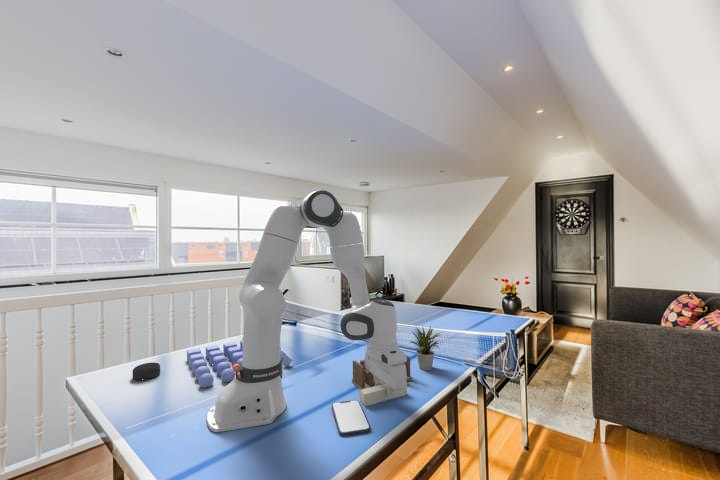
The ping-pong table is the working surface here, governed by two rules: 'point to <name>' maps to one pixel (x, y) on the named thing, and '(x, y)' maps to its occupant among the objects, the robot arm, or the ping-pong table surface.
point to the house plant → (425, 348)
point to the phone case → (350, 418)
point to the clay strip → (378, 394)
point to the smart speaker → (146, 371)
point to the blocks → (220, 362)
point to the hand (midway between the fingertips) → (383, 392)
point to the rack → (370, 374)
